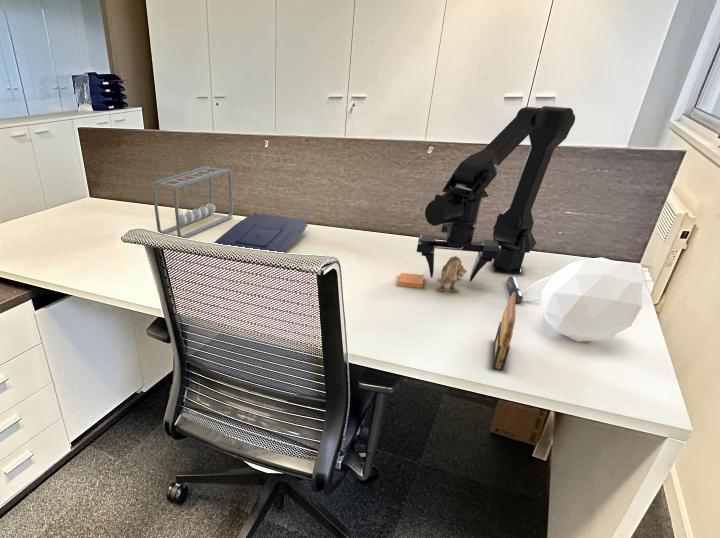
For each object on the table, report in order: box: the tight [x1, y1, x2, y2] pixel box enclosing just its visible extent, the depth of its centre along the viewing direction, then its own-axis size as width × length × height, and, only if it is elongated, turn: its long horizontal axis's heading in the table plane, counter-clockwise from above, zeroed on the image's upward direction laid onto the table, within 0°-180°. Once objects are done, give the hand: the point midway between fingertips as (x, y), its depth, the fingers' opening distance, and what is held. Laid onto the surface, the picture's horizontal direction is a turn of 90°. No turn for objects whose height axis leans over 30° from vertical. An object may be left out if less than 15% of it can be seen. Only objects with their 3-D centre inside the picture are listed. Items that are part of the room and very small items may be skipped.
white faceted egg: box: [521, 257, 643, 342], centre depth 104 cm, size 16×22×28 cm
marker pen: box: [506, 276, 523, 304], centre depth 120 cm, size 2×13×2 cm
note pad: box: [397, 272, 425, 289], centre depth 128 cm, size 6×6×1 cm
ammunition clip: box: [491, 293, 516, 371], centre depth 94 cm, size 11×2×12 cm, turn 155°
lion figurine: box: [438, 255, 468, 292], centre depth 123 cm, size 15×5×9 cm, turn 163°
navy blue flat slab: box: [213, 212, 309, 253], centre depth 158 cm, size 24×30×4 cm
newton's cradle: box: [151, 165, 234, 239], centre depth 170 cm, size 30×10×18 cm, turn 144°
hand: (450, 278), depth 124 cm, fingers open, 9 cm apart
